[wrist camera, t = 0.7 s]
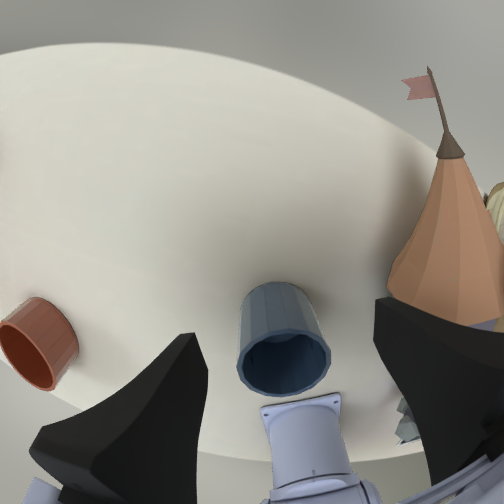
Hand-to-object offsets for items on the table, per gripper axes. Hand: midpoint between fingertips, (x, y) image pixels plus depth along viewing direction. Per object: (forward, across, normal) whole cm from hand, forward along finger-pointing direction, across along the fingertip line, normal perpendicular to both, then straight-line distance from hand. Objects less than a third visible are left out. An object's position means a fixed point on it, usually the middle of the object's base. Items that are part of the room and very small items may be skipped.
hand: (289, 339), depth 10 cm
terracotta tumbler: (+9, +23, +4) cm, 25 cm away
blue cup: (+9, 0, +4) cm, 10 cm away
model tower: (+5, -14, +19) cm, 24 cm away
